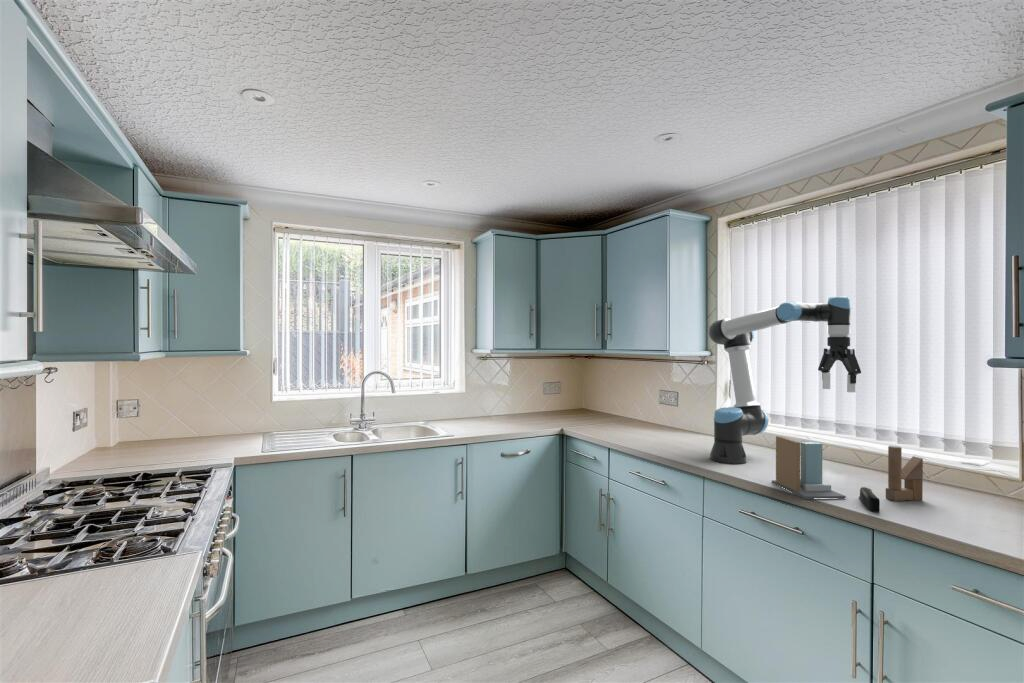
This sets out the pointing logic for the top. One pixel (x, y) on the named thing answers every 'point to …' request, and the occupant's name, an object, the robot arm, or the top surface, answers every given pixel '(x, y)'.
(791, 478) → the stand
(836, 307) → the robot arm
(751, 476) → the top surface
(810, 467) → the door panel
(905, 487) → the wooden block
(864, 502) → the black stapler
